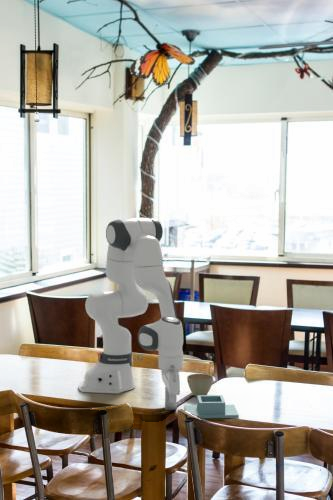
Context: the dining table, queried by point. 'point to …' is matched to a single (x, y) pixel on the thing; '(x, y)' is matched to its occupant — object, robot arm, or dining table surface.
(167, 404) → the gray rectangular block
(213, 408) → the well
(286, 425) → the dining table surface
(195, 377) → the flower pot
